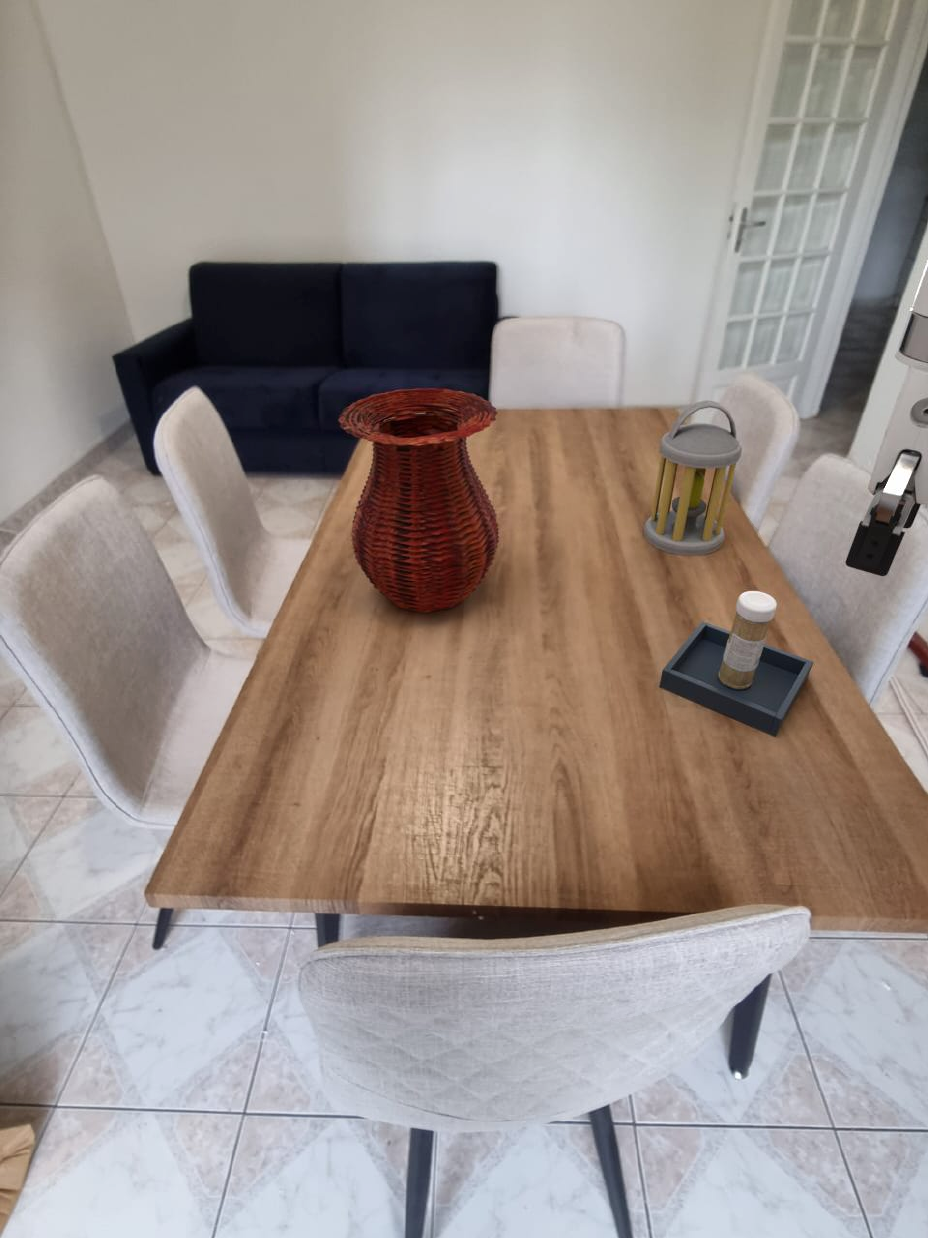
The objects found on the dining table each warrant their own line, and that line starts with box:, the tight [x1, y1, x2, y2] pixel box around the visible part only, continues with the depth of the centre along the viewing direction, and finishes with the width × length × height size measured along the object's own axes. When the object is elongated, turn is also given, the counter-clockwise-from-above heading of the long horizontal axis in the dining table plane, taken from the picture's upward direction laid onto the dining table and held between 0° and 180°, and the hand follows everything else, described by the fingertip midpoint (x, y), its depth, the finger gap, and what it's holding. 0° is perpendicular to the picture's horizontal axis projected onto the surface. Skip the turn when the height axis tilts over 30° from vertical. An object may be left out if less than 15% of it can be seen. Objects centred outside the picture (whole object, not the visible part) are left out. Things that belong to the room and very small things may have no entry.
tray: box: [659, 620, 814, 737], centre depth 92 cm, size 16×14×3 cm
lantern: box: [643, 399, 743, 557], centre depth 117 cm, size 14×14×25 cm
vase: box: [337, 387, 500, 613], centre depth 104 cm, size 23×24×30 cm
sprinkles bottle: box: [718, 590, 778, 689], centre depth 88 cm, size 5×5×13 cm
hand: (879, 545), depth 59 cm, fingers open, 9 cm apart
